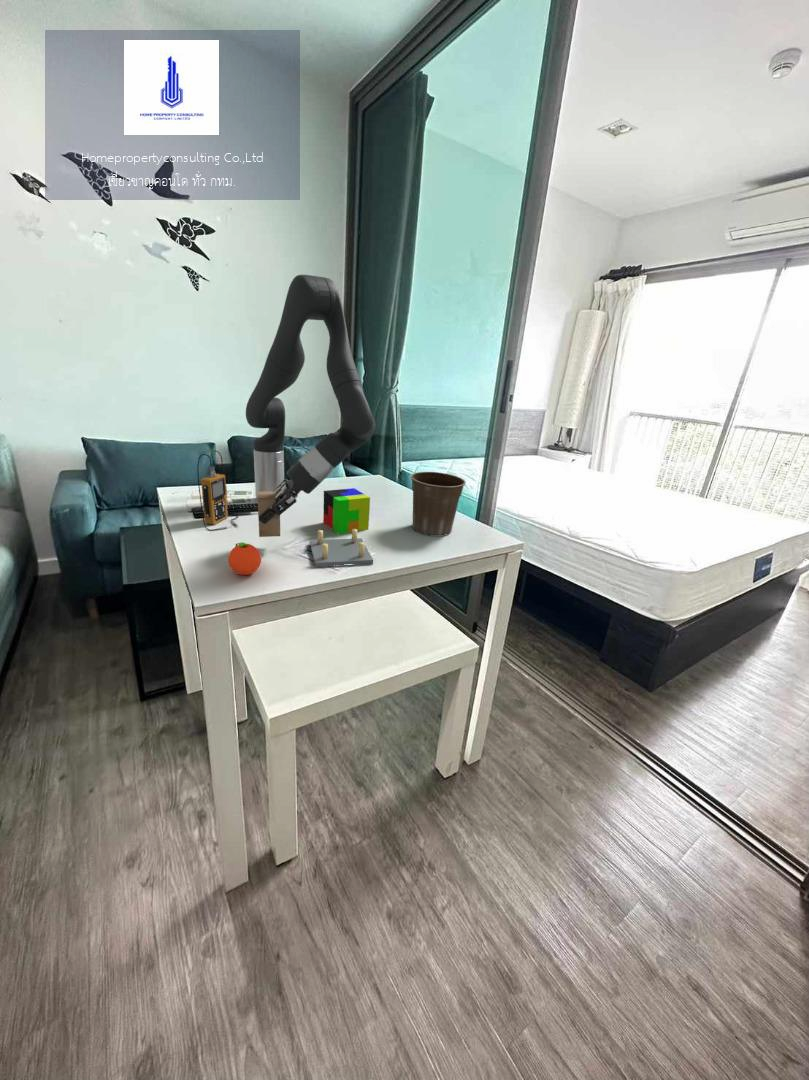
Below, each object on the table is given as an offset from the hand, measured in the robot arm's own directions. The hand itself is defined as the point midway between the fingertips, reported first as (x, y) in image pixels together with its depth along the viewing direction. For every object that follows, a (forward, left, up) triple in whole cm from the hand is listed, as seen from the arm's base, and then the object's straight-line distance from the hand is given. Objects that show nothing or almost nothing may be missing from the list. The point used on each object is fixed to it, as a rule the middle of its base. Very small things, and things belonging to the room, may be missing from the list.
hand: (261, 517), depth 107 cm
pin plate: (+5, +19, -9) cm, 21 cm away
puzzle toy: (-15, +24, -9) cm, 29 cm away
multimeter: (-20, -9, -9) cm, 23 cm away
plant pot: (-10, +50, -9) cm, 52 cm away
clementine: (+13, -4, -9) cm, 16 cm away
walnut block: (0, +2, -4) cm, 5 cm away
